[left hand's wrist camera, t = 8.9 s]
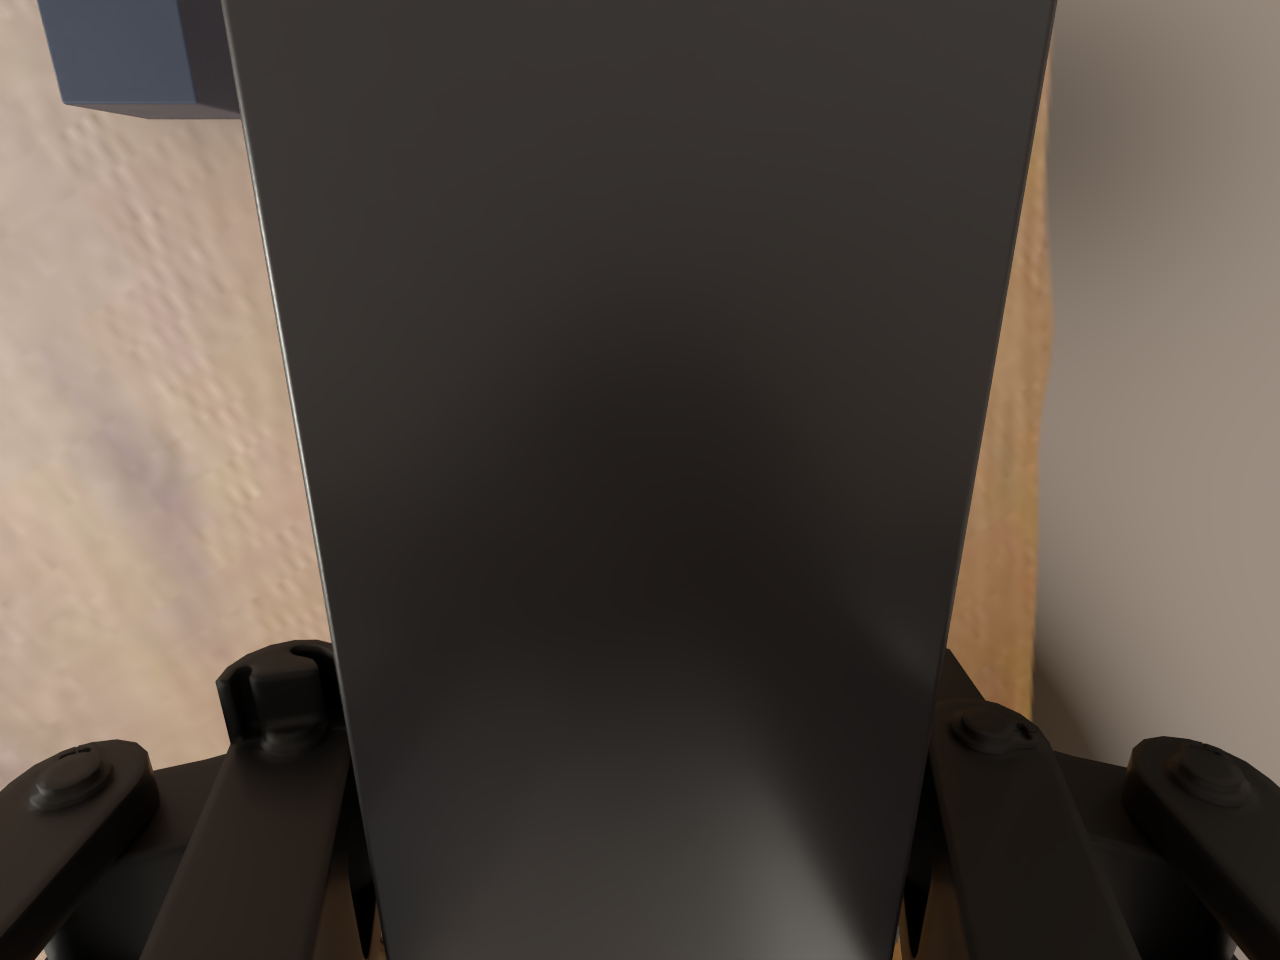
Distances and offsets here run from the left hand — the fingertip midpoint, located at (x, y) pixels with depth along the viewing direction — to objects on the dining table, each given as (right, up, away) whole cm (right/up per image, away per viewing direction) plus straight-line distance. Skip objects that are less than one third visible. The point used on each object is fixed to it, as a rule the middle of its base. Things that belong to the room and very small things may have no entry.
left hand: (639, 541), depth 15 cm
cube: (-15, +16, +10) cm, 24 cm away
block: (0, +9, -3) cm, 10 cm away
